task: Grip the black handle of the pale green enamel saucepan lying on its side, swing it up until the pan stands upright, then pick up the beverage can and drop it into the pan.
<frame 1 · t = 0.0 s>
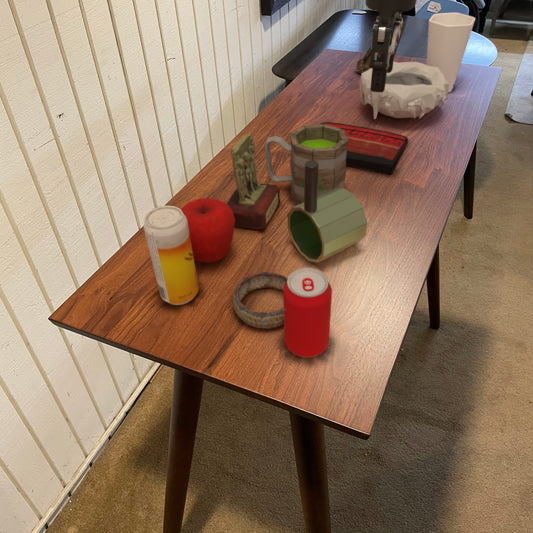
hand: (381, 81, 85), 22 cm above the table, tool pointing down, fingers open, 8 cm apart
beverage can: (306, 343, 73), on the table
sculpture: (253, 215, 96), on the table
statue: (376, 75, 144), on the table
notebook: (353, 149, 113), on the table
decorative ring: (266, 308, 78), on the table
pot: (327, 205, 82), point 9 cm above the table, hinge at 90.0°
cup: (438, 88, 136), on the table
apple: (209, 256, 88), on the table
bowl: (399, 113, 126), on the table
mug: (304, 192, 101), on the table
beer can: (180, 294, 81), on the table
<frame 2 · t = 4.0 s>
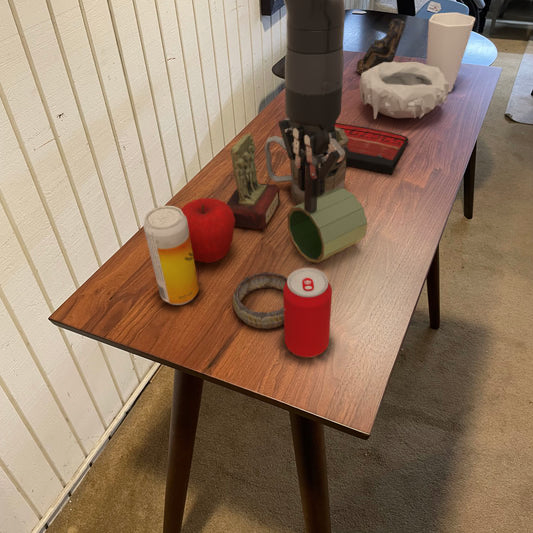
hand: (310, 192, 78), 13 cm above the table, tool pointing down, fingers closed on pot, 2 cm apart
pot: (327, 205, 82), point 9 cm above the table, hinge at 90.0°, touching gripper
everything else where it was.
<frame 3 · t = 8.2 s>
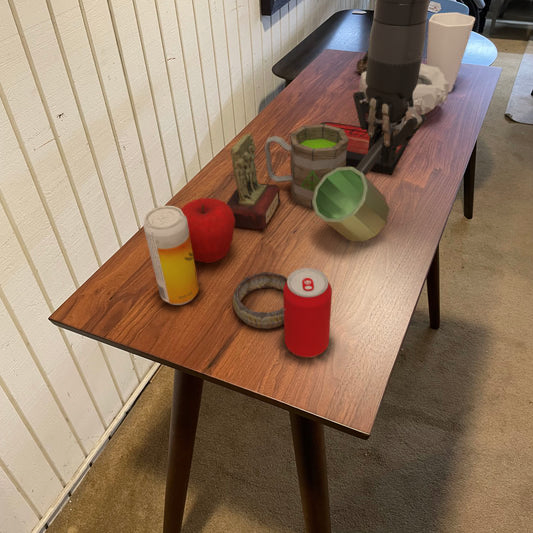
hand: (380, 160, 84), 13 cm above the table, tool pointing down, fingers closed on pot, 2 cm apart
pot: (366, 185, 85), point 9 cm above the table, hinge at 40.6°, touching gripper
everything else where it was.
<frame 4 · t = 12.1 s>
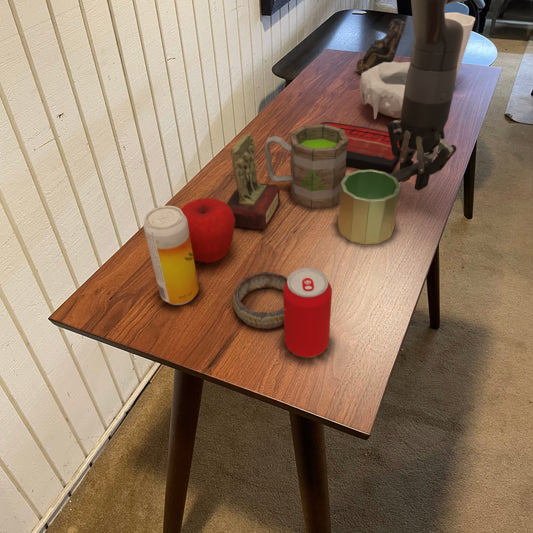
hand: (412, 183, 93), 5 cm above the table, tool pointing down, fingers open, 3 cm apart
pot: (384, 198, 90), point 4 cm above the table, hinge at 0.0°
everything else where it was.
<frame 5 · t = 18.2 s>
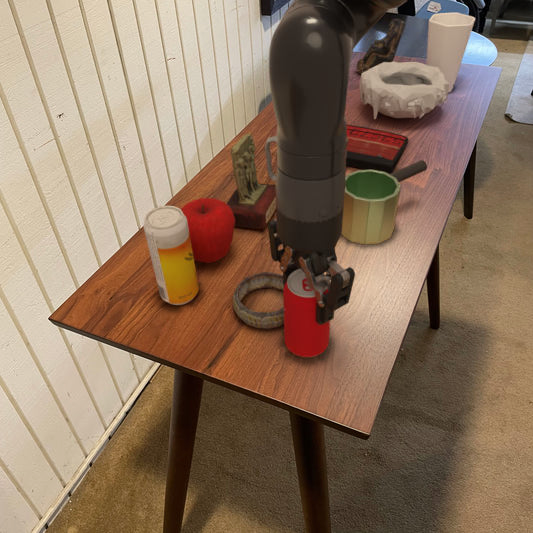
hand: (307, 305, 67), 8 cm above the table, tool pointing down, fingers closed on beverage can, 6 cm apart
beverage can: (306, 343, 73), on the table, touching gripper
everything else where it was.
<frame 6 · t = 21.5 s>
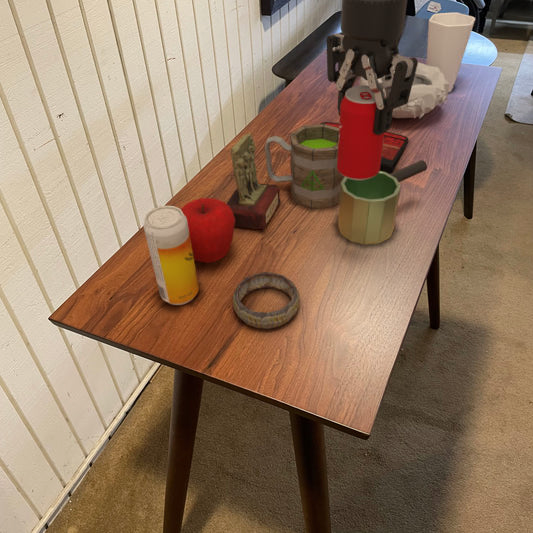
hand: (362, 123, 70), 24 cm above the table, tool pointing down, fingers closed on beverage can, 6 cm apart
beverage can: (357, 173, 76), point 16 cm above the table, touching gripper
everything else where it was.
when the fingers open (15 cm above the table, at t = 24.9 s): beverage can drops 7 cm, resting on pot.
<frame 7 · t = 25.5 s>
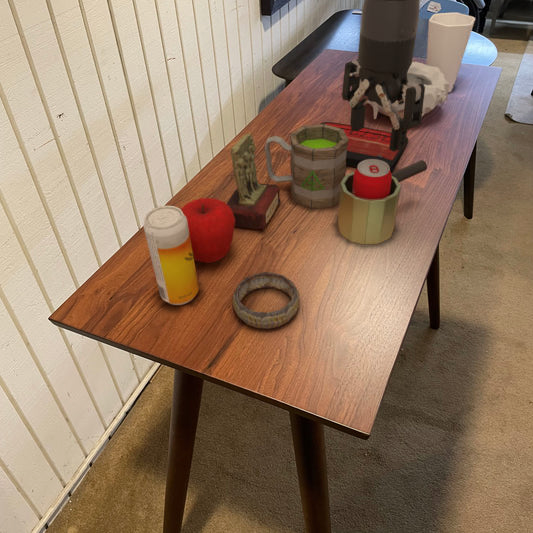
hand: (375, 139, 80), 17 cm above the table, tool pointing down, fingers open, 8 cm apart
beverage can: (366, 226, 91), resting on pot
pot: (384, 198, 90), point 4 cm above the table, hinge at 0.0°, touching beverage can
everything else where it was.
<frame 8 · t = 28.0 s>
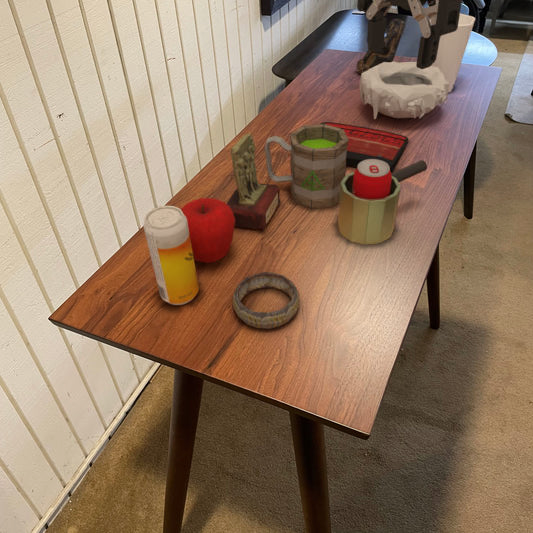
hand: (398, 57, 66), 32 cm above the table, tool pointing down, fingers open, 8 cm apart
nothing on the table moved.
at the end: pot at +0° (first picture: +90°); beverage can 0.3 cm off-centre on the pot, point 0.3 cm above the pot's base; the gripper is holding nothing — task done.
